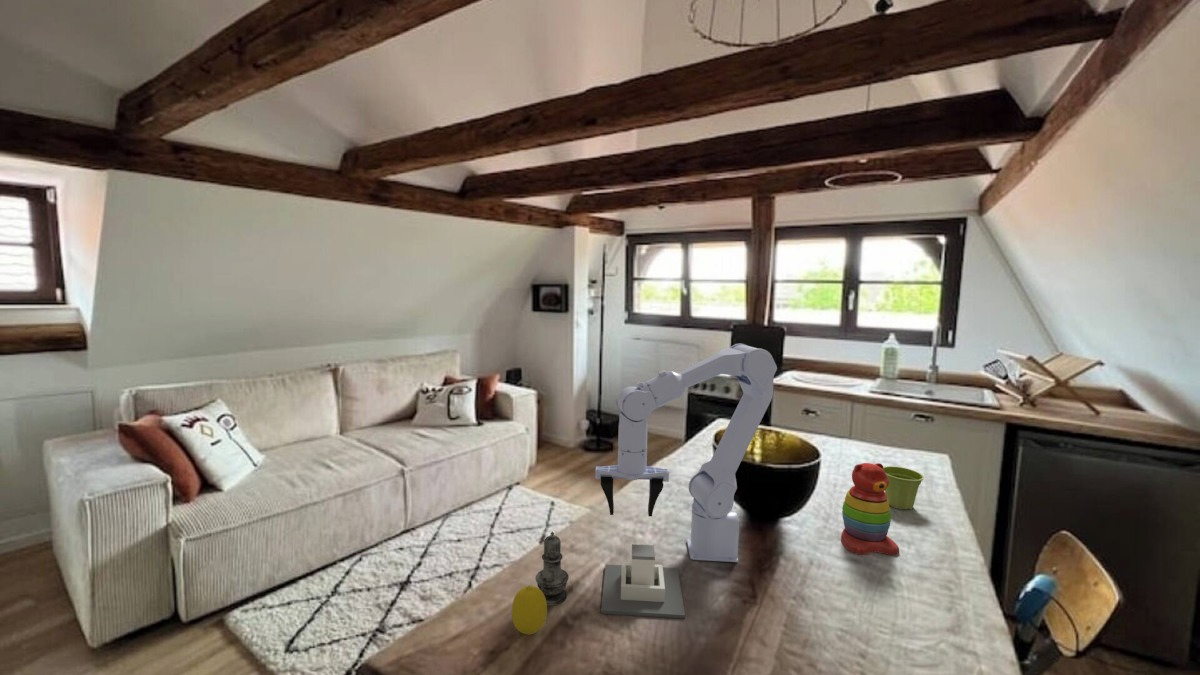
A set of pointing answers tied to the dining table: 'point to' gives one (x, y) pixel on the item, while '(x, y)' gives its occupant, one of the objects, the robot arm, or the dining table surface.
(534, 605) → the lemon
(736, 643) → the dining table surface
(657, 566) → the socket base
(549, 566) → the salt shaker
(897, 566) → the dining table surface
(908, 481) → the plant pot
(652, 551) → the plug
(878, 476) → the stacking bear
